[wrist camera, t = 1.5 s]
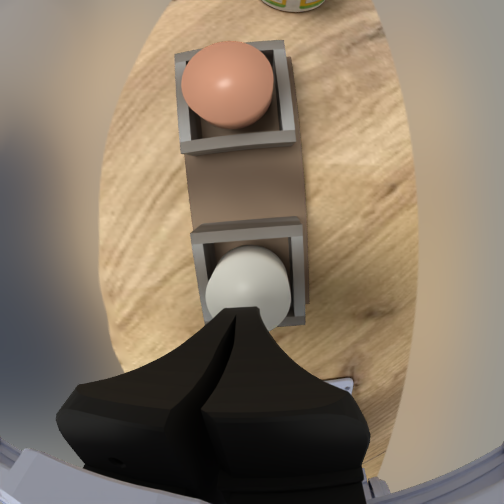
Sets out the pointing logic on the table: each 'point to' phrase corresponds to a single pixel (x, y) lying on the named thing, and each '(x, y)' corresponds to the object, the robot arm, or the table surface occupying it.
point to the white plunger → (250, 284)
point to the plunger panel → (248, 183)
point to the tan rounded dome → (228, 84)
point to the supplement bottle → (294, 4)
